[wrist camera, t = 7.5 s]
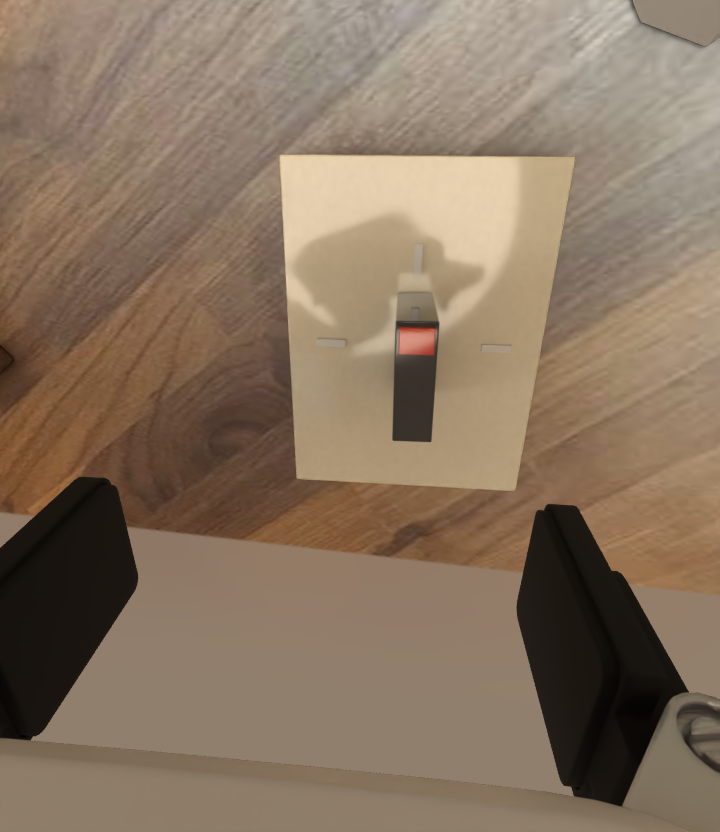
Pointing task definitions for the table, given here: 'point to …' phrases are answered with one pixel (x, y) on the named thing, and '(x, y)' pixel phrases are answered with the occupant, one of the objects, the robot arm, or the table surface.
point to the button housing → (4, 359)
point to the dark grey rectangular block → (415, 367)
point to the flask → (683, 18)
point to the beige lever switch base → (418, 273)
